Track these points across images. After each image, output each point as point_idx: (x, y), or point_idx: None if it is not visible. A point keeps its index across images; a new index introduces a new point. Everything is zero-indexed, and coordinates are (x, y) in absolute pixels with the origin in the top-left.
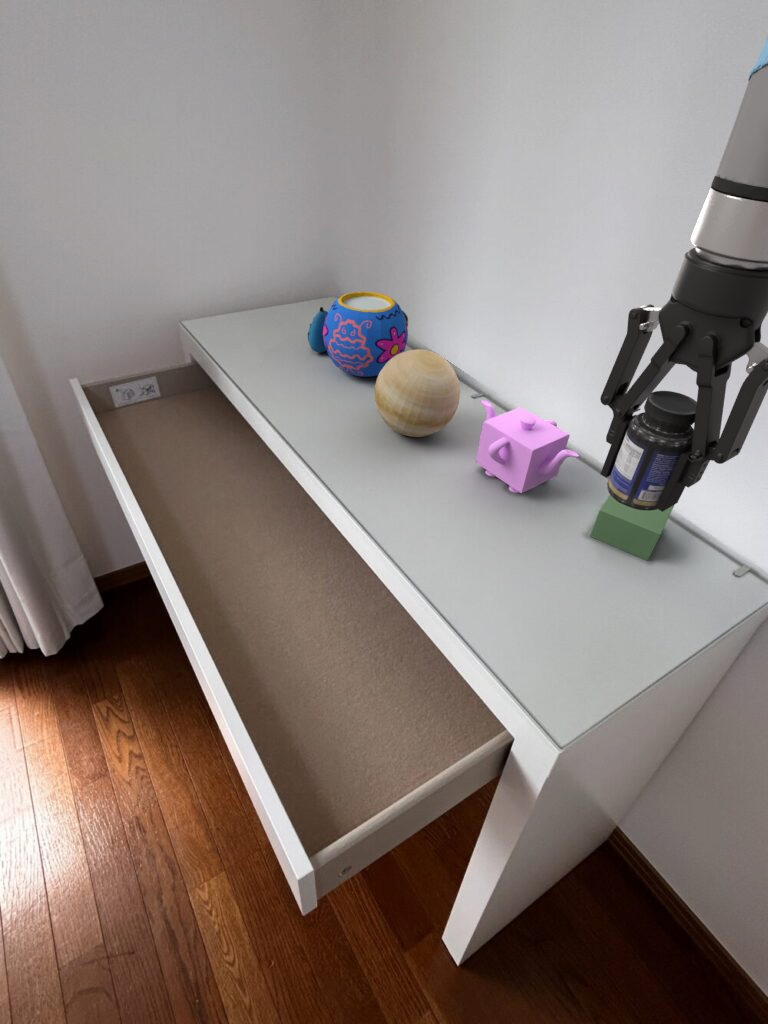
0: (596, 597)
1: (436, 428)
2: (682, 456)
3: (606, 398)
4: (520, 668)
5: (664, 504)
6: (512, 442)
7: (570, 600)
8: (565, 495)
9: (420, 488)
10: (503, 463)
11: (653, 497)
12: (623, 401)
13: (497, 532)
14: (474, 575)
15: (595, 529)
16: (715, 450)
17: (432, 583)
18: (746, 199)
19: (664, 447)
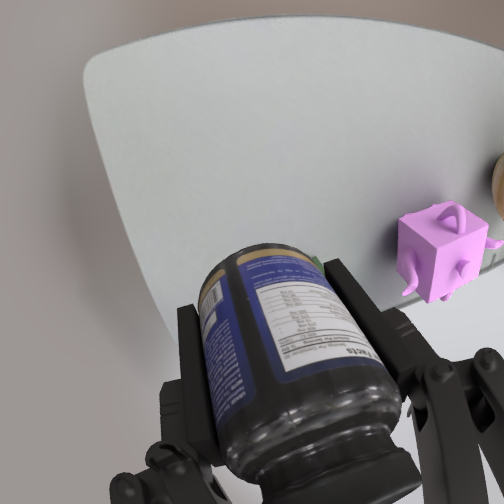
0: (233, 208)
1: (496, 185)
2: (202, 434)
3: (490, 365)
4: (172, 60)
5: (180, 320)
6: (455, 235)
7: (240, 175)
8: (373, 265)
9: (449, 121)
10: (438, 217)
11: (202, 311)
12: (458, 403)
13: (367, 157)
14: (320, 86)
15: (317, 264)
16: (141, 498)
17: (327, 34)
18: None
19: (242, 425)
